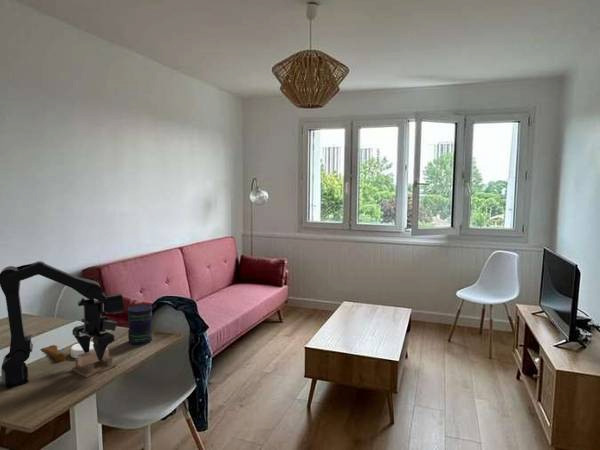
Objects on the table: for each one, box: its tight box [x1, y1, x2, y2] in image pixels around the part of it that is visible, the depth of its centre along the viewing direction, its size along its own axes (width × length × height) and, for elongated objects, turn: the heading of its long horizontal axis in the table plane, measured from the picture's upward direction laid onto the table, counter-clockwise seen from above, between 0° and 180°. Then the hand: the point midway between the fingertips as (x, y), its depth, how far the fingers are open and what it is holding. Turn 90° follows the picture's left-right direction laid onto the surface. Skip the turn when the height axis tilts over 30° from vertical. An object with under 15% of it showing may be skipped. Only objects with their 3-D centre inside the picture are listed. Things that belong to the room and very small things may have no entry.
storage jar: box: [127, 304, 153, 346], centre depth 177 cm, size 10×10×15 cm
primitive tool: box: [40, 344, 67, 363], centre depth 162 cm, size 19×6×4 cm, turn 47°
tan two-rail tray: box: [71, 356, 117, 378], centre depth 150 cm, size 11×10×4 cm
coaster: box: [70, 340, 94, 359], centre depth 163 cm, size 10×10×4 cm
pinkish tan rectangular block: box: [77, 347, 110, 367], centre depth 150 cm, size 10×3×4 cm, turn 145°
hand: (93, 357), depth 150 cm, fingers open, 9 cm apart
